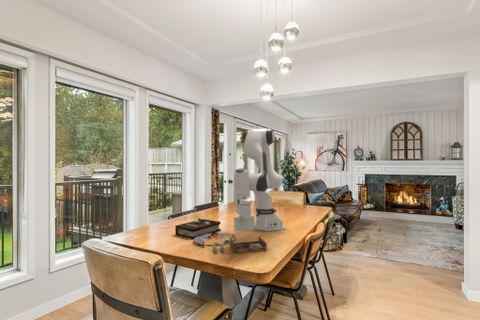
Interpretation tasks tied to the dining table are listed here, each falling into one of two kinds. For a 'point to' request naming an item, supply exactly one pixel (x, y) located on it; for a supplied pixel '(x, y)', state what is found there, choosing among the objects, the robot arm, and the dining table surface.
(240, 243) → the rack
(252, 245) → the offcut upper
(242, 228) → the board
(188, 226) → the decorative book
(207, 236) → the food plate
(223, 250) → the stand
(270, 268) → the dining table surface
